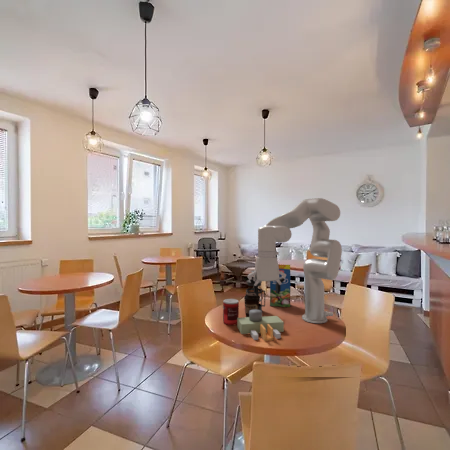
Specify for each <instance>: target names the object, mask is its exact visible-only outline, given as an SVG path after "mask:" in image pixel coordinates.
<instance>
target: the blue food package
mask: <svg viewBox="0 0 450 450" xmlns="http://www.w3.org/2000/svg"><path fill="white" fill-rule="evenodd" d="M278 266H279V271H281V272H283V273H285V274H286V277H285V279H284V281H283V282H282V284H281V285H280V294H277V293H276V283H277V282H276V281H269V306H270V307H281V308H290V307H291V264H278ZM281 277H282V275H281V274H279V279H280V278H281Z"/></svg>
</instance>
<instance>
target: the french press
mask: <svg viewBox="0 0 450 450" xmlns="http://www.w3.org/2000/svg"><path fill="white" fill-rule="evenodd" d="M254 271H255V269H253V270H250V273H252V272H254ZM252 280H253V281H254V280H255V279H252ZM262 282H263V281H260V282H259V283H258V284H257V286H258V294H259V295H260V300H259V310H261V311H262V312H263V307H264V308H265V307H266V290H265V289H261V288H259V287H260V286H262ZM246 284H247V286H249V287H248V288H246V289H245V294H246V293H254V285H253V284H252V283H251V282H250V280H249V279H247V280H246ZM263 292H264V294H263ZM262 294H263V295H264V298H263V297H262V296H263V295H262ZM262 299H263V300H262ZM262 301H264V303H263V302H262Z"/></svg>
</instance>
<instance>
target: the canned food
mask: <svg viewBox="0 0 450 450" xmlns="http://www.w3.org/2000/svg"><path fill="white" fill-rule="evenodd" d="M239 304H240V302H239V299H236V298H226V299H224V300H223V301H222V308H223V310H222V311H223V312H222V316H223V317H222V321H223V323H224V324H225V325H227V326H235V325H237V318H240V317H239V313H240V312H239V307H240V306H239Z"/></svg>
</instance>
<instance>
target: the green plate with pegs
mask: <svg viewBox="0 0 450 450" xmlns="http://www.w3.org/2000/svg"><path fill="white" fill-rule="evenodd" d="M260 324H262V325H263V326H264V328H265V329H266V333H267V324H269V325H270V326H271V327H272V328H273V338H275V339H276V340H277V339H282V338H281V337H282V335H281V334H282V332H283V333H284V329H285V328H284V326H285V323H284V321H283V320H282V319H281V318H280V317H279V316H278V315H269V316H266V315H265V316H263V310H262V311H261V310H257V309H253V310H250V311H249V317H246V316H245V317H239V318H237V324H236V325H237V326H236V328H237V329H238V331H239V333H240V334H241V335H246V334H247V335H248V334H249V335H250V336H251V338H252V339H253V341H256V340H257V341H258V340H259V334H260Z"/></svg>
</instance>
